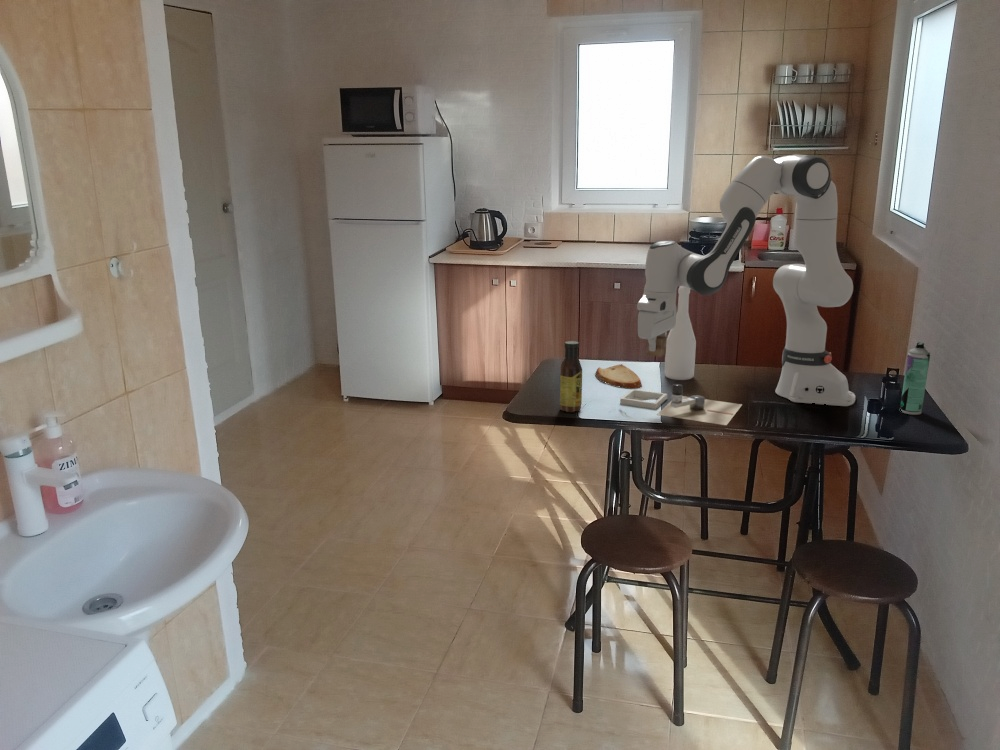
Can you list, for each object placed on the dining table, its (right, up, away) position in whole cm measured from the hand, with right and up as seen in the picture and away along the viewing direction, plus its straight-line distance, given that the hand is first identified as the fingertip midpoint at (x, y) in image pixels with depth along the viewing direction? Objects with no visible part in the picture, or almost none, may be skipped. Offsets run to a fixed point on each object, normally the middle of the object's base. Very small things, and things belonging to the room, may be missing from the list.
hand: (656, 349), depth 215 cm
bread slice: (-5, -9, +35) cm, 37 cm away
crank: (+8, -17, -2) cm, 19 cm away
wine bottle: (+15, -8, +37) cm, 41 cm away
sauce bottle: (-24, -18, +5) cm, 30 cm away
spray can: (+72, -18, +1) cm, 74 cm away
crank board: (+12, -18, 0) cm, 22 cm away
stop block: (0, -2, 0) cm, 2 cm away
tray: (-2, -16, +8) cm, 18 cm away
